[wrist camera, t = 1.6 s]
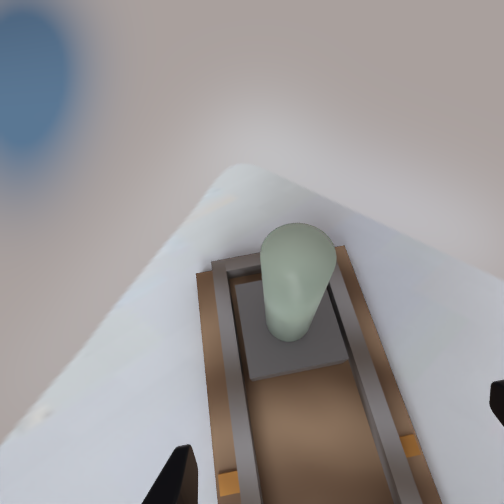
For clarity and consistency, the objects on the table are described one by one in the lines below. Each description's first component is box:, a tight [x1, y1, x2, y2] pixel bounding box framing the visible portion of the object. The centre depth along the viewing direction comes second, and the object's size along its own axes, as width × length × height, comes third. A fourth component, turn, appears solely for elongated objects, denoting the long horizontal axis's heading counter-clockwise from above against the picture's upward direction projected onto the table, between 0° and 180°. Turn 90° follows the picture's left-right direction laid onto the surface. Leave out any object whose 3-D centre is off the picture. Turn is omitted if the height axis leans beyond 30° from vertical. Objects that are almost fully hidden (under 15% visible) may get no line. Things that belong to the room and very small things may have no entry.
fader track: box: [196, 246, 442, 504], centre depth 19 cm, size 18×12×3 cm, turn 10°
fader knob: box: [235, 223, 349, 381], centre depth 16 cm, size 6×6×11 cm
